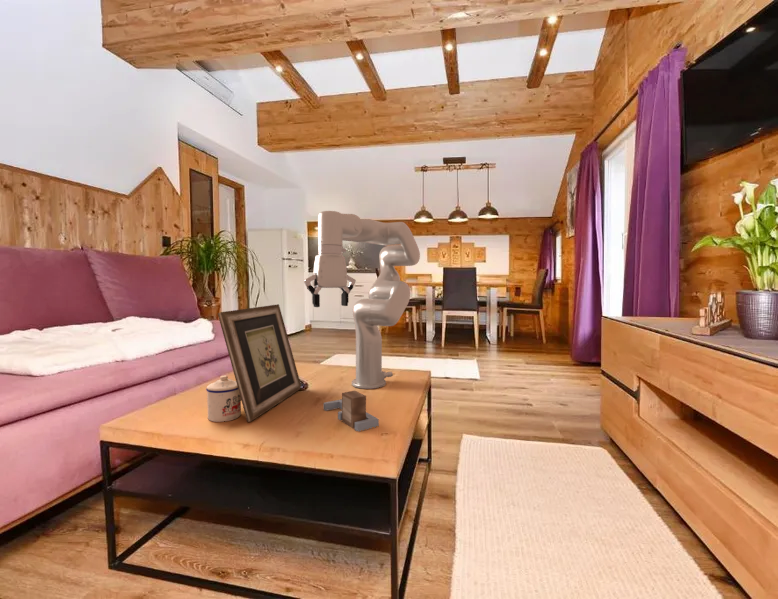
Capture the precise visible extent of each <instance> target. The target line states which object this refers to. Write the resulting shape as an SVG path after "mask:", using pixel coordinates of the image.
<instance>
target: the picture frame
mask: <svg viewBox="0 0 778 599" xmlns="http://www.w3.org/2000/svg"><path fill="white" fill-rule="evenodd" d="M217 317H218V320H219V325H220V327H221V331H222V334H223V338H224V341H225V345H226V350H227V352H228V356H229V360H230V365H231V367H232V371H233V375H234V379H235V381H236V383H237V386H238V390H239V394H240V397H241V406H242V407H243V408H242V409H243V412H244V415H245V419H246V423H249V422H252V421H254V420H256V419H257V418H258V417H260V416H261V415H263V414H265V413H266V412H267V411H269V410H271V409H272V408H273V407H275V406H276V405H278V404H279V403H282V402H283V401H284V400H286V399H287V398H289V397H291V396H292V395H294V394H295V393H296V392H298V391H299V390H301V389H300V386H301V387H302V383H301V381H300V376H299V373H298V369H297V365H296V361H295V358H294V355H293V351H292V348H291V344H290V340H289V337H288V336H289V335H288V333H287V328H286V325H285V322H284V318H283V314H282V311H281V307H280V304H271V305H270V304H269V305H264V306H256V307H249V308H241V309H235V310H227V311H220V312H217Z"/></svg>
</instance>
